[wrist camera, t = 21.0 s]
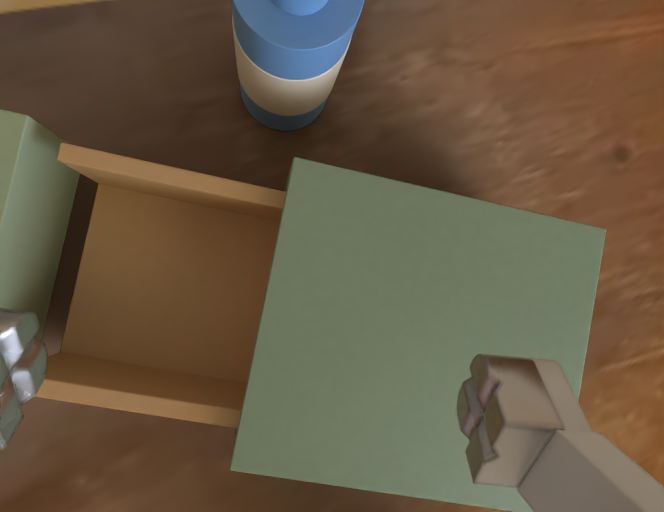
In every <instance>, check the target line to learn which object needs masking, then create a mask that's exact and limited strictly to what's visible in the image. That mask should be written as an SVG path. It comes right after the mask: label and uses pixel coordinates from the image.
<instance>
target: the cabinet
mask: <svg viewBox="0 0 664 512" xmlns="http://www.w3.org/2000/svg"><path fill="white" fill-rule="evenodd" d="M284 192H286V195H285V200H284V205H283V210H282V215H281V220H280V225H279V230H278V234H277V239H276V244H275V249H274V254H273V259H272V264H271V268H270V273H269V278H268V283H267V288H266V293H265V298H264V302H263V307H262V312H261V317H260V322H259V327H258V332H257V336H256V341H255V346H254V351H253V356H252V361H251V366H250V370H249V375H248V380H247V385H246V390H245V395H244V400H243V405H242V409H241V414H240V419H239V424H238V428H236V430H235V437H234V443H233V450H232V457H231V463H230V470H232V471H238V472H245V473H252V474H259V475H266V476H273V477H280V478H287V479H294V480H300V481H307V482H314V483H321V484H328V485H335V486H342V487H349V488H356V489H362V490H369V491H376V492H383V493H390V494H397V495H404V496H411V497H418V498H424V499H431V500H438V501H445V502H452V503H459V504H466V505H473V506H480V507H487V508H493V509H500V510H507V511H514V512H534V511H533V510H532V509H531V508H530V506H529V505H528V504H527V503H526V501H525V500H524V499H523V497H522V496H521V495H520V494H519V492H518V491H517V489H518V488H512V487H502V486H492V485H482V484H473V480H472V476H471V472H470V468H469V464H468V460H467V456H466V452H465V450H466V448H467V446H468V444H469V442H470V440H469V439H468V438H467V437H466V436H465V435H464V434H463V433H462V432H461V431H460V427H459V423H458V419H457V399H458V393H459V390H460V388H461V385H462V382H464V381H465V380H467V379H469V378H470V377H472V375H471V371H470V368H469V367H470V364H471V362H472V360H473V358H474V357H475V356H476V355H477V354H488V355H500V356H512V357H524V358H527V359H528V358H535V359H547V360H555V361H556V362H557V363H558V364H559V365H560V366H561V368H562V370H563V372H564V374H565V376H566V378H567V380H568V382H569V384H570V386H571V388H572V391H573V393H574V395H575V397H576V399H577V401H578V398H579V392H580V386H581V380H582V374H583V368H584V362H585V356H586V350H587V344H588V338H589V332H590V326H591V320H592V313H593V307H594V301H595V295H596V289H597V283H598V277H599V271H600V265H601V259H602V253H603V247H604V241H605V235H606V229H605V228H600V227H596V226H592V225H587V224H583V223H579V222H574V221H570V220H566V219H561V218H557V217H553V216H549V215H544V214H540V213H536V212H531V211H527V210H523V209H518V208H514V207H510V206H505V205H501V204H497V203H492V202H488V201H484V200H479V199H475V198H471V197H466V196H462V195H458V194H453V193H449V192H445V191H440V190H436V189H432V188H428V187H423V186H419V185H415V184H410V183H406V182H402V181H397V180H393V179H389V178H384V177H380V176H376V175H371V174H367V173H363V172H358V171H354V170H350V169H345V168H341V167H337V166H332V165H328V164H324V163H320V162H315V161H311V160H307V159H302V158H298V157H294V158H293V162H292V165H291V168H290V172H289V175H288V179H287V182H286V185H285V189H284Z"/></svg>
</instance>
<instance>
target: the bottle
mask: <svg viewBox="0 0 664 512" xmlns="http://www.w3.org/2000/svg"><path fill="white" fill-rule="evenodd" d="M231 4H232V25H233V34H234V43H235V52H236V61H237V70H238V76H239V81H240V90H241V96H242V99H243V102H244V104H245V106H246V108H247V110H248V111H249V112H250V114H251V115H252V116H253V117H254V118H255V119H256V120H257V121H259V122H260V123H262V124H263V125H265V126H267V127H269V128H272V129H276V130H281V131H290V130H296V129H300V128H303V127H305V126H307V125H309V124H310V123H311V122H313V121H314V120H315V119H316V118H317V117H318V116H319V114H320V113H321V112H322V110H323V108H324V106H325V103H326V101H327V98H328V96H329V94H330V92H331V90H332V88H333V85H334V83H335V80H336V78H337V75H338V73H339V70H340V68H341V65H342V63H343V60H344V57H345V55H346V52H347V50H348V47H349V44H350V41H351V36H352V34H353V31H354V29H355V26H356V24H357V21H358V18H359V16H360V13H361V11H362V7H363V4H364V0H231Z"/></svg>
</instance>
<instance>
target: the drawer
mask: <svg viewBox="0 0 664 512" xmlns="http://www.w3.org/2000/svg"><path fill="white" fill-rule="evenodd" d="M80 173H81V174H83V175H85V176H86V177H88V178H90V179H92V180H94V181H95V182H97V183H98V187H97V192H96V196H95V200H94V205H93V209H92V214H91V218H90V222H89V227H88V231H87V235H86V240H85V244H84V248H83V253H82V257H81V261H80V266H79V270H78V275H77V279H76V283H75V288H74V292H73V296H72V301H71V305H70V309H69V314H68V318H67V322H66V327H65V331H64V336H63V340H62V344H61V349H60V352H59V353H56V354H54V355H51V356H49V357H48V367H47V371H46V374H45V378H44V381H43V383H42V385H41V387H40V389H39V391H38V393H37V394H36V396H34V397H41V398H47V399H54V400H60V401H66V402H73V403H79V404H86V405H92V406H98V407H105V408H111V409H117V410H124V411H130V412H137V413H143V414H149V415H156V416H162V417H169V418H175V419H181V420H188V421H194V422H201V423H207V424H213V425H220V426H226V427H233V428H238V424H239V419H240V414H241V409H242V405H243V400H244V395H245V390H246V385H247V380H248V375H249V370H250V366H251V361H252V356H253V351H254V346H255V341H256V336H257V332H258V327H259V322H260V317H261V312H262V307H263V302H264V298H265V293H266V288H267V283H268V278H269V273H270V268H271V264H272V259H273V254H274V249H275V244H276V239H277V234H278V230H279V225H280V220H281V215H282V210H283V205H284V200H285V195H286V192H284V191H280V190H275V189H271V188H266V187H262V186H257V185H253V184H248V183H243V182H239V181H234V180H230V179H225V178H221V177H216V176H212V175H207V174H203V173H198V172H194V171H189V170H185V169H180V168H176V167H171V166H167V165H162V164H158V163H153V162H149V161H144V160H140V159H135V158H131V157H126V156H122V155H117V154H113V153H108V152H104V151H99V150H94V149H90V148H85V147H81V146H76V145H72V144H69V143H67V142H66V141H65V140H63V139H62V138H60V137H59V136H57V135H56V134H54V133H53V132H51V131H50V130H48V129H47V128H45V127H44V126H43V125H41V124H40V123H38V122H37V121H35V120H34V119H32V118H31V117H29V116H28V115H25V114H20V113H16V112H11V111H7V110H3V109H0V308H6V309H14V310H23V311H30V312H33V313H36V315H37V318H38V321H39V324H40V328H39V330H38V332H37V333H36V335H35V336H36V337H37V338H38V339H39V340H40V341H41V340H42V336H43V331H44V327H45V323H46V318H47V314H48V310H49V305H50V301H51V297H52V292H53V288H54V284H55V280H56V275H57V271H58V267H59V262H60V258H61V254H62V249H63V245H64V241H65V236H66V232H67V228H68V224H69V219H70V215H71V211H72V206H73V202H74V198H75V193H76V189H77V185H78V180H79V176H80Z"/></svg>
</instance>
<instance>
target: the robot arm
mask: <svg viewBox="0 0 664 512" xmlns="http://www.w3.org/2000/svg"><path fill="white" fill-rule="evenodd" d="M39 328H40V324H39V321H38V318H37V315H36V313H33V312H30V311H23V310H14V309H6V308H0V449H3V450H4V449H5V448H6V446H7V444H8V443H9V441H10V439H11V437H12V436H13V434H14V432H15V431H16V429H17V427H18V426H19V424H20V422H21V420H22V419H23V417H24V415H23V412H22V408H21V405H22V404H23V403H25V402H26V401H28V400H30V399H31V398H33V397H34V396H36V394H37V393H38V391H39V389H40V387H41V385H42V383H43V381H44V378H45V374H46V371H47V367H48V354H47V350H46V346H45V344H44V343H43V342H42V341H40V340H39V339H38V338H37V337H36V336H35V335H36V333H37V332H38V330H39ZM469 368H470V371H471V375H472V377H470V378H469V379H467V380H465V381H464V382H462V385H461V388H460V390H459V393H458V399H457V419H458V423H459V427H460V431H461V432H462V433H463V434H464V435H465V436H466V437H467V438H468V439H469V440H470V442H469V444H468V446H467V448H466V450H465V452H466V456H467V460H468V464H469V468H470V472H471V476H472V480H473V484H482V485H492V486H502V487H512V488H518V489H517V491H518V492H519V494H520V495H521V496H522V497H523V499H524V500H525V501H526V503H527V504H528V505H529V506H530V508H531V509H532V510H533V511H534V512H664V486H662V485H661V484H660V483H659V482H658V481H657V480H655V479H654V478H653V477H652V476H651V475H649V474H648V473H647V472H646V471H645V470H644V469H642V468H641V467H640V466H639V465H638V464H637V463H635V462H634V461H633V460H632V459H631V458H629V457H628V456H627V455H626V454H625V453H624V452H622V451H621V450H620V449H619V448H618V447H616V446H615V445H614V444H613V443H612V442H611V441H609V440H608V439H607V438H606V437H605V436H603V435H602V434H601V433H593V431H592V429H591V427H590V425H589V423H588V421H587V419H586V417H585V415H584V413H583V411H582V409H581V407H580V405H579V403H578V401H577V399H576V397H575V395H574V393H573V391H572V388H571V386H570V384H569V382H568V380H567V378H566V376H565V374H564V372H563V370H562V368H561V366H560V365H559V364H558V363H557V362H556V361H555V360H547V359H535V358H528V359H527V358H524V357H512V356H500V355H488V354H477V355H476V356H475V357H474V358H473V360H472V362H471V364H470V367H469Z"/></svg>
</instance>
